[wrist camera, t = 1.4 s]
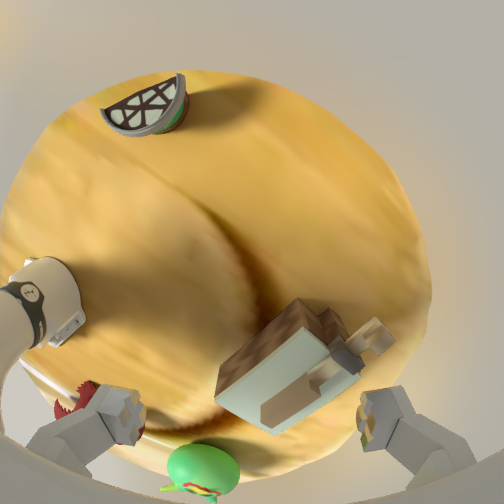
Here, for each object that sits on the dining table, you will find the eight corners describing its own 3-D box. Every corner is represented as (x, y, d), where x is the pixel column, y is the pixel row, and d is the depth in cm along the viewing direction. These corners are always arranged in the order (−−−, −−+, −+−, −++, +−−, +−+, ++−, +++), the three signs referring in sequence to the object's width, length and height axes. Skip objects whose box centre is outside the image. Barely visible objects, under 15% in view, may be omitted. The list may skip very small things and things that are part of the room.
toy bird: (252, 449, 60) (251, 495, 46) (221, 472, 64) (217, 512, 50) (187, 424, 57) (175, 472, 43) (163, 450, 62) (151, 491, 47)
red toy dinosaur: (63, 377, 61) (62, 427, 53) (42, 370, 53) (40, 425, 45) (151, 389, 60) (151, 447, 52) (133, 384, 52) (133, 451, 44)
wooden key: (317, 380, 40) (322, 400, 36) (306, 372, 40) (311, 392, 35) (383, 324, 37) (395, 341, 33) (374, 314, 37) (386, 331, 32)
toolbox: (272, 400, 54) (274, 449, 41) (220, 365, 52) (210, 416, 39) (357, 333, 49) (381, 378, 37) (307, 287, 47) (324, 329, 34)
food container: (135, 153, 42) (105, 151, 32) (126, 120, 40) (96, 110, 30) (207, 125, 40) (193, 113, 31) (196, 90, 39) (180, 70, 29)
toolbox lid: (274, 427, 47) (275, 452, 41) (216, 393, 44) (211, 419, 38) (357, 369, 42) (368, 393, 36) (302, 322, 40) (308, 347, 34)
